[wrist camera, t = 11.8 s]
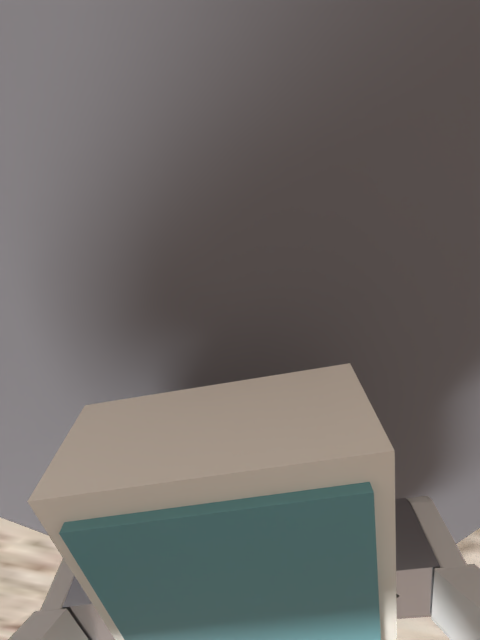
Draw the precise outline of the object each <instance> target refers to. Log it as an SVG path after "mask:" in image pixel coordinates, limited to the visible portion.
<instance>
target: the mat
mask: <svg viewBox="0 0 480 640" xmlns="http://www.w3.org/2000/svg"><path fill="white" fill-rule="evenodd" d="M348 363H350V364H351V366H352V368H353V370H354V372H355V374H356V376H357V378H358V380H359V382H360V384H361V386H362V388H363V390H364V392H365V394H366V395H367V397H368V399H369V401H370V403H371V405H372V407H373V409H374V411H375V413H376V415H377V417H378V419H379V421H380V423H381V425H382V427H383V429H384V431H385V433H386V435H387V437H388V439H389V441H390V443H391V445H392V446H393V448H394V450H395V499H400V498H413V497H420V496H429V497H430V498H431V499H432V501H433V502H434V504H435V506H436V508H437V510H438V512H439V513H440V515H441V517H442V519H443V521H444V523H445V525H446V526H447V528H448V530H449V532H450V534H451V536H452V537H453V539H454V541H455V543H456V544H457V543H458V542H460V541H461V540H463V539H464V538H465V537H467V536H468V535H470V534H471V533H473V532H474V531H476V530H477V529H479V528H480V0H0V517H1V518H4V519H6V520H9V521H12V522H14V523H17V524H20V525H22V526H25V527H28V528H30V529H33V530H35V531H38V532H41V533H43V534H46V535H48V533H47V532H46V530H45V529H44V527H43V526H42V524H41V522H40V521H39V519H38V518H37V516H36V515H35V513H34V511H33V510H32V508H31V507H30V505H29V504H28V502H27V501H28V500H29V498H30V496H31V495H32V493H33V491H34V489H35V488H36V486H37V484H38V483H39V481H40V479H41V478H42V476H43V474H44V473H45V471H46V469H47V468H48V466H49V464H50V463H51V461H52V459H53V458H54V456H55V454H56V453H57V451H58V449H59V448H60V446H61V444H62V443H63V441H64V439H65V438H66V436H67V434H68V433H69V431H70V429H71V428H72V426H73V424H74V423H75V421H76V419H77V418H78V416H79V414H80V413H81V411H82V409H83V408H84V406H85V405H90V404H96V403H102V402H109V401H115V400H121V399H128V398H134V397H140V396H146V395H153V394H159V393H165V392H172V391H178V390H184V389H190V388H197V387H203V386H209V385H216V384H222V383H228V382H235V381H241V380H247V379H253V378H260V377H266V376H272V375H279V374H285V373H291V372H297V371H304V370H310V369H316V368H323V367H329V366H335V365H342V364H348Z"/></svg>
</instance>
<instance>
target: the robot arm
mask: <svg viewBox="0 0 480 640" xmlns="http://www.w3.org/2000/svg"><path fill="white" fill-rule="evenodd" d="M395 522H396V606H397V619H401V618H416V617H431V619H432V620H433V621H434V622H435V623H436V625H437V626H438V627H439V628H440V629H441V630H442V631H443V632H444V633H445V634H446V636H447V637H448V638H449V639H450V640H480V568H479V567H477V566H476V565H475V564H469V565H467V563H466V561H465V559H464V558H463V556H462V554H461V552H460V550H459V548H458V547H457V545H456V543H455V541H454V539H453V537H452V536H451V534H450V532H449V530H448V528H447V526H446V525H445V523H444V521H443V519H442V517H441V515H440V513H439V512H438V510H437V508H436V506H435V504H434V502H433V501H432V499H431V498H430V497H429V496H420V497H413V498H400V499H395ZM8 640H115V639H114V637H113V635H112V634H111V632H110V631H109V629H108V628H107V626H106V624H105V623H104V621H103V620H102V618H101V617H100V615H99V613H98V612H97V610H96V609H95V607H94V606H93V604H92V602H91V601H90V599H89V598H88V596H87V595H86V593H85V591H84V590H83V588H82V587H81V585H80V584H79V582H78V580H77V579H76V577H75V576H74V574H73V573H72V571H71V569H70V568H69V566H68V565H67V563H66V562H65V560H64V558H63V559H62V561H61V564H60V566H59V568H58V571H57V573H56V575H55V577H54V580H53V582H52V584H51V587H50V589H49V591H48V593H47V596H46V598H45V600H44V603H43V605H42V607H41V610H40V611H36V612H34V613H33V614H32V615H31V616H30V617H29V618H28V619H27V620H26V621H25V622H24V623H23V624H22V625H21V626H20V627H19V629H18V630H17V631H16V632H15V633H14V634H13V635H12V636H11V637H10V638H9V639H8Z"/></svg>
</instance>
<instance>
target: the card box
mask: <svg viewBox="0 0 480 640" xmlns="http://www.w3.org/2000/svg"><path fill="white" fill-rule="evenodd" d="M27 502H28V504H29V505H30V507H31V508H32V510H33V511H34V513H35V515H36V516H37V518H38V519H39V521H40V522H41V524H42V526H43V527H44V529H45V530H46V532H47V533H48V535H49V536H50V538H51V540H52V541H53V543H54V544H55V546H56V547H57V549H58V551H59V552H60V554H61V555H62V557H63V558H64V560H65V562H66V563H67V565H68V566H69V568H70V569H71V571H72V573H73V574H74V576H75V577H76V579H77V580H78V582H79V584H80V585H81V587H82V588H83V590H84V591H85V593H86V595H87V596H88V598H89V599H90V601H91V602H92V604H93V606H94V607H95V609H96V610H97V612H98V613H99V615H100V617H101V618H102V620H103V621H104V623H105V624H106V626H107V628H108V629H109V631H110V632H111V634H112V635H113V637H114V639H115V640H397V606H396V522H395V450H394V448H393V446H392V445H391V443H390V441H389V439H388V437H387V435H386V433H385V431H384V429H383V427H382V425H381V423H380V421H379V419H378V417H377V415H376V413H375V411H374V409H373V407H372V405H371V403H370V401H369V399H368V397H367V395H366V394H365V392H364V390H363V388H362V386H361V384H360V382H359V380H358V378H357V376H356V374H355V372H354V370H353V368H352V366H351V364H350V363H348V364H342V365H335V366H329V367H323V368H316V369H310V370H304V371H297V372H291V373H285V374H279V375H272V376H266V377H260V378H253V379H247V380H241V381H235V382H228V383H222V384H216V385H209V386H203V387H197V388H190V389H184V390H178V391H172V392H165V393H159V394H153V395H146V396H140V397H134V398H128V399H121V400H115V401H109V402H102V403H96V404H90V405H85V406H84V408H83V409H82V411H81V413H80V414H79V416H78V418H77V419H76V421H75V423H74V424H73V426H72V428H71V429H70V431H69V433H68V434H67V436H66V438H65V439H64V441H63V443H62V444H61V446H60V448H59V449H58V451H57V453H56V454H55V456H54V458H53V459H52V461H51V463H50V464H49V466H48V468H47V469H46V471H45V473H44V474H43V476H42V478H41V479H40V481H39V483H38V484H37V486H36V488H35V489H34V491H33V493H32V495H31V496H30V498H29V500H28V501H27Z"/></svg>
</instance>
